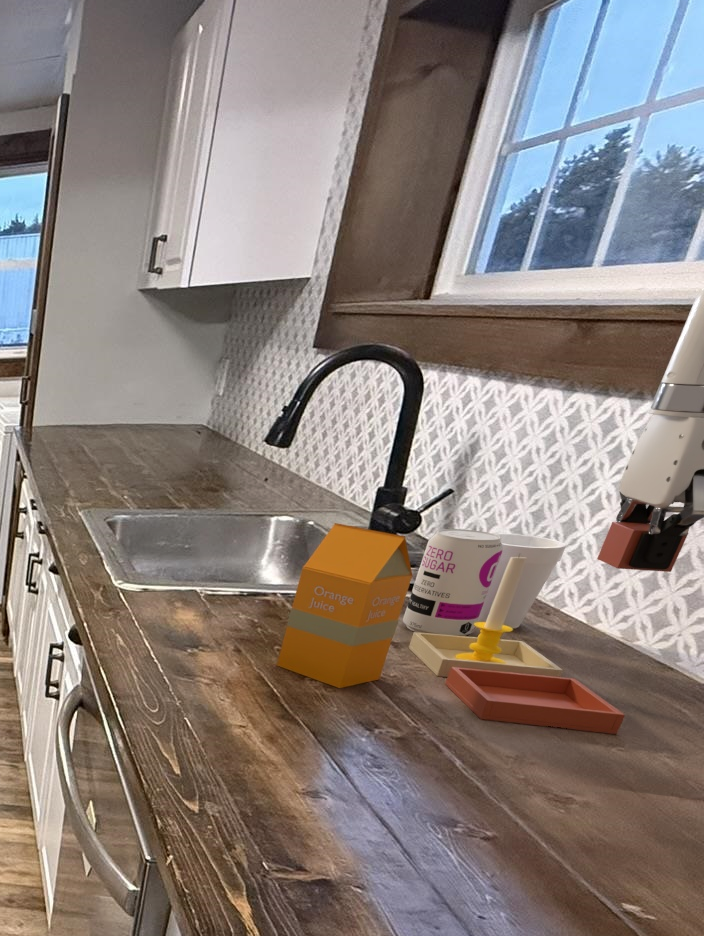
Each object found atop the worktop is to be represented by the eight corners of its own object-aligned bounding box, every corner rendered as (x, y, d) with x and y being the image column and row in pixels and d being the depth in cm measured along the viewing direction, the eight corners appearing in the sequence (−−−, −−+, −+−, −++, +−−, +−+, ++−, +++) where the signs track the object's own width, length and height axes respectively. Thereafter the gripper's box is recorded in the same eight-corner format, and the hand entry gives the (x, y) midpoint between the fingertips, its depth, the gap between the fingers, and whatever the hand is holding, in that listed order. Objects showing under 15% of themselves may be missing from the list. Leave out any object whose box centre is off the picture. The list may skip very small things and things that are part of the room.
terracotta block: (648, 562, 99) (664, 524, 97) (671, 572, 95) (688, 532, 93) (596, 558, 100) (612, 521, 99) (617, 568, 97) (633, 530, 95)
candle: (446, 655, 116) (484, 547, 110) (491, 657, 115) (532, 548, 109) (467, 669, 111) (508, 557, 105) (514, 671, 110) (558, 558, 104)
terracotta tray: (567, 696, 104) (574, 678, 103) (616, 734, 95) (625, 714, 94) (444, 683, 109) (451, 666, 108) (480, 719, 99) (487, 700, 98)
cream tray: (516, 657, 116) (523, 641, 115) (556, 688, 106) (563, 670, 105) (408, 647, 120) (413, 631, 119) (437, 676, 111) (442, 659, 110)
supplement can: (479, 631, 125) (514, 534, 120) (460, 643, 121) (496, 544, 115) (412, 617, 132) (443, 525, 126) (393, 629, 127) (423, 534, 122)
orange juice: (339, 688, 108) (384, 540, 101) (275, 665, 116) (312, 525, 108) (380, 679, 111) (427, 533, 103) (315, 657, 118) (354, 519, 111)
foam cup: (447, 622, 129) (475, 541, 124) (455, 608, 135) (482, 530, 130) (530, 636, 123) (563, 551, 118) (536, 621, 128) (568, 539, 123)
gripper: (810, 409, 82) (725, 584, 89) (702, 395, 96) (636, 547, 103) (705, 408, 85) (631, 578, 92) (616, 395, 99) (557, 543, 106)
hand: (635, 560), depth 97 cm, fingers closed on terracotta block, 4 cm apart
